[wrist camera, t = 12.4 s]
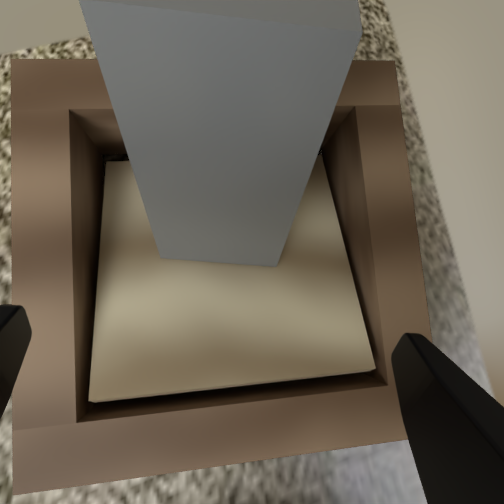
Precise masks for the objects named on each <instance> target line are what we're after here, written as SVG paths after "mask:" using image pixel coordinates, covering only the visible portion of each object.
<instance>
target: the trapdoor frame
mask: <svg viewBox="0 0 504 504" xmlns="http://www.w3.org/2000/svg"><path fill="white" fill-rule="evenodd" d="M320 149H322V154H323V163H324V167H325V171H326V175H327V179H328V183H329V187H330V191H331V194H332V198H333V202H334V206H335V210H336V214H337V218H338V222H339V226H340V230H341V234H342V238H343V242H344V245H345V249H346V253H347V257H348V261H349V265H350V269H351V273H352V277H353V281H354V285H355V289H356V293H357V296H358V300H359V304H360V308H361V312H362V316H363V320H364V324H365V328H366V332H367V336H368V340H369V344H370V347H371V351H372V355H373V359H374V363H375V367H376V369H373V370H371V371H368V372H360V373H351V374H342V375H334V376H325V377H316V378H307V379H298V380H290V381H281V382H272V383H263V384H255V385H246V386H237V387H228V388H219V389H211V390H202V391H193V392H184V393H176V394H167V395H158V396H149V397H140V398H132V399H123V400H114V401H105V402H96V403H95V402H91V401H89V388H90V374H91V361H92V347H93V334H94V320H95V307H96V293H97V280H98V266H99V253H100V239H101V226H102V212H103V198H104V187H103V158H102V155H114V154H127V151H126V148H125V144H124V141H123V138H122V135H121V132H120V129H119V126H118V122H117V119H116V116H115V113H114V110H113V107H112V104H111V100H110V97H109V94H108V91H107V88H106V85H105V81H104V78H103V75H102V72H101V69H100V66H99V63H98V59H11V218H12V305H21V306H23V307H24V308H25V310H26V313H27V316H28V319H29V322H30V325H31V329H32V337H31V341H30V344H29V346H28V349H27V352H26V355H25V357H24V360H23V363H22V366H21V369H20V371H19V374H18V377H17V380H16V382H15V385H14V388H13V391H12V444H13V495H19V494H26V493H33V492H40V491H48V490H55V489H62V488H69V487H76V486H83V485H90V484H97V483H104V482H111V481H118V480H125V479H132V478H139V477H146V476H153V475H160V474H167V473H174V472H182V471H189V470H196V469H203V468H210V467H217V466H224V465H231V464H238V463H245V462H252V461H259V460H266V459H273V458H280V457H287V456H294V455H301V454H308V453H315V452H323V451H330V450H337V449H344V448H351V447H358V446H365V445H372V444H379V443H386V442H393V441H400V440H407V439H408V437H407V434H406V430H405V427H404V423H403V419H402V415H401V411H400V405H399V400H398V395H397V390H396V385H395V379H394V374H393V369H392V364H391V354H392V352H393V350H394V348H395V346H396V345H397V343H398V341H399V340H400V338H401V336H402V335H403V334H404V333H419V334H422V335H423V336H425V337H426V338H427V339H428V340H429V341H430V342H431V343H432V336H431V329H430V321H429V314H428V306H427V299H426V291H425V284H424V276H423V269H422V261H421V254H420V247H419V239H418V232H417V224H416V217H415V209H414V202H413V194H412V187H411V179H410V172H409V164H408V157H407V150H406V142H405V135H404V127H403V120H402V112H401V105H400V97H399V90H398V82H397V75H396V67H395V61H362V60H352V63H351V65H350V68H349V71H348V73H347V76H346V79H345V82H344V84H343V87H342V90H341V93H340V95H339V98H338V101H337V103H336V106H335V109H334V112H333V114H332V117H331V120H330V122H329V125H328V128H327V131H326V133H325V136H324V139H323V142H322V144H321V147H320Z"/></svg>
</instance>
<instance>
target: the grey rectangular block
mask: <svg viewBox="0 0 504 504" xmlns="http://www.w3.org/2000/svg"><path fill="white" fill-rule="evenodd" d="M79 3H80V6H81V9H82V12H83V15H84V18H85V22H86V24H87V28H88V31H89V34H90V37H91V41H92V44H93V47H94V50H95V53H96V56H97V59H98V63H99V66H100V69H101V72H102V75H103V78H104V81H105V85H106V88H107V91H108V94H109V97H110V100H111V104H112V107H113V110H114V113H115V116H116V119H117V122H118V126H119V129H120V132H121V135H122V138H123V141H124V144H125V148H126V151H127V154H128V157H129V160H130V163H131V167H132V170H133V173H134V176H135V179H136V182H137V185H138V189H139V192H140V195H141V198H142V201H143V204H144V207H145V211H146V214H147V217H148V220H149V223H150V226H151V230H152V233H153V236H154V239H155V242H156V245H157V248H158V252H159V255H160V258H164V259H177V260H191V261H204V262H217V263H230V264H243V265H256V266H269V267H277V264H278V261H279V259H280V256H281V253H282V250H283V248H284V245H285V242H286V240H287V237H288V234H289V231H290V229H291V226H292V223H293V221H294V218H295V215H296V212H297V210H298V207H299V204H300V201H301V199H302V196H303V193H304V191H305V188H306V185H307V182H308V180H309V177H310V174H311V171H312V169H313V166H314V163H315V161H316V158H317V155H318V152H319V150H320V147H321V144H322V142H323V139H324V136H325V133H326V131H327V128H328V125H329V122H330V120H331V117H332V114H333V112H334V109H335V106H336V103H337V101H338V98H339V95H340V93H341V90H342V87H343V84H344V82H345V79H346V76H347V73H348V71H349V68H350V65H351V63H352V60H353V57H354V54H355V52H356V49H357V46H358V43H359V41H360V38H361V35H362V33H363V31H362V24H361V18H360V11H359V4H358V0H79Z"/></svg>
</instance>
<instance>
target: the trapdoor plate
mask: <svg viewBox="0 0 504 504" xmlns="http://www.w3.org/2000/svg"><path fill="white" fill-rule="evenodd" d="M373 369H376V367H375V363H374V359H373V355H372V351H371V347H370V344H369V340H368V336H367V332H366V328H365V324H364V320H363V316H362V312H361V308H360V304H359V300H358V296H357V293H356V289H355V285H354V281H353V277H352V273H351V269H350V265H349V261H348V257H347V253H346V249H345V245H344V242H343V238H342V234H341V230H340V226H339V222H338V218H337V214H336V210H335V206H334V202H333V198H332V194H331V191H330V187H329V183H328V179H327V175H326V171H325V167H324V163H323V159H322V155H317V158H316V161H315V163H314V166H313V169H312V171H311V174H310V177H309V180H308V182H307V185H306V188H305V191H304V193H303V196H302V199H301V201H300V204H299V207H298V210H297V212H296V215H295V218H294V221H293V223H292V226H291V229H290V231H289V234H288V237H287V240H286V242H285V245H284V248H283V250H282V253H281V256H280V259H279V261H278V264H277V267H269V266H256V265H243V264H230V263H217V262H204V261H191V260H177V259H164V258H160V255H159V252H158V248H157V245H156V242H155V239H154V236H153V233H152V230H151V226H150V223H149V220H148V217H147V214H146V211H145V207H144V204H143V201H142V198H141V195H140V192H139V189H138V185H137V182H136V179H135V176H134V173H133V170H132V167H131V163H130V161H112V162H106V171H105V185H104V198H103V212H102V226H101V239H100V253H99V266H98V280H97V293H96V307H95V320H94V334H93V347H92V361H91V374H90V388H89V401H91V402H95V403H96V402H105V401H114V400H123V399H132V398H140V397H149V396H158V395H167V394H176V393H184V392H193V391H202V390H211V389H219V388H228V387H237V386H246V385H255V384H263V383H272V382H281V381H290V380H298V379H307V378H316V377H325V376H334V375H342V374H351V373H360V372H368V371H371V370H373Z"/></svg>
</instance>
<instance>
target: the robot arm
mask: <svg viewBox="0 0 504 504" xmlns="http://www.w3.org/2000/svg"><path fill="white" fill-rule="evenodd" d="M31 337H32V329H31V325H30V322H29V319H28V316H27V313H26V310H25V308H24V307H23V306H21V305H12V304H3V305H0V419H1V417H2V415H3V412H4V410H5V408H6V406H7V404H8V401H9V399H10V396H11V394H12V391H13V388H14V385H15V382H16V380H17V377H18V374H19V371H20V369H21V366H22V363H23V360H24V357H25V355H26V352H27V349H28V346H29V344H30V341H31ZM391 364H392V369H393V374H394V379H395V385H396V390H397V395H398V400H399V405H400V411H401V415H402V419H403V423H404V427H405V430H406V434H407V437H408V440H409V444H410V447H411V450H412V454H413V457H414V460H415V463H416V467H417V470H418V473H419V477H420V480H421V483H422V487H423V490H424V493H425V497H426V500H427V503H428V504H504V407H503V406H502V405H500V404H499V403H498V402H497V401H496V400H495V399H494V398H493V397H492V396H490V395H489V394H488V393H487V392H486V391H485V390H484V389H483V388H482V387H480V386H479V385H478V384H477V383H476V382H475V381H474V380H473V379H471V378H470V377H469V376H468V375H467V374H466V373H465V372H464V371H463V370H461V369H460V368H459V367H458V366H457V365H456V364H455V363H454V362H453V361H451V360H450V359H449V358H448V357H447V356H446V355H445V354H444V353H442V352H441V351H440V350H439V349H438V348H437V347H436V346H435V345H434V344H432V343H431V342H430V341H429V340H428V339H427V338H426V337H425V336H423V335H422V334H419V333H404V334H403V335H402V336H401V338H400V340H399V341H398V343H397V345H396V346H395V348H394V350H393V352H392V354H391Z"/></svg>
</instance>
